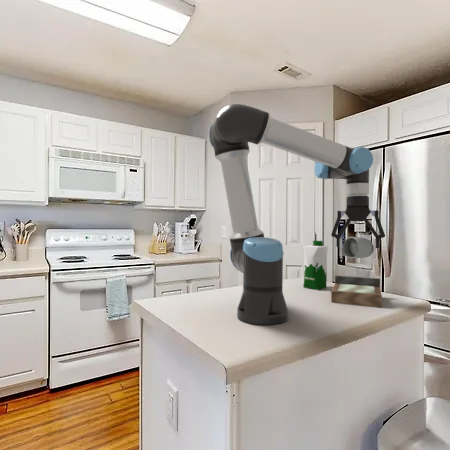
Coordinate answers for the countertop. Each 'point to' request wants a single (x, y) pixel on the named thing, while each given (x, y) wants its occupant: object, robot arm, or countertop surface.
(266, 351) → the countertop surface
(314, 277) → the milk carton
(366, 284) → the step
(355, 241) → the ceramic mug
